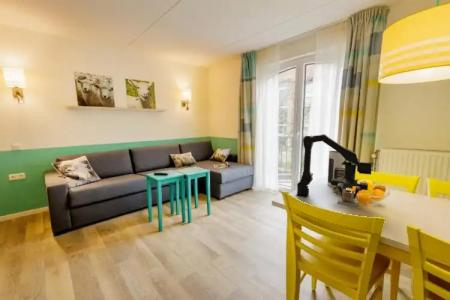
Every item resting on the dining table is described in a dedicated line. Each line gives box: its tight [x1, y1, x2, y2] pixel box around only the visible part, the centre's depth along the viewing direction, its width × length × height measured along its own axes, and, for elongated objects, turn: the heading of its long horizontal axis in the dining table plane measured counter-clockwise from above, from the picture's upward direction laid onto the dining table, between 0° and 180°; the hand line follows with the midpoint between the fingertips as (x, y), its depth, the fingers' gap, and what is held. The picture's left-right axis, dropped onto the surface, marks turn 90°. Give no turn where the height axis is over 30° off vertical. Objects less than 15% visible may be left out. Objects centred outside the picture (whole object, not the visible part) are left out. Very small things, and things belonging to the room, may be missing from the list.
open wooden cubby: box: [342, 189, 355, 202], centre depth 127 cm, size 6×6×6 cm
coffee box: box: [332, 167, 346, 194], centre depth 145 cm, size 9×6×16 cm
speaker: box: [327, 150, 345, 188], centre depth 158 cm, size 11×10×26 cm
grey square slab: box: [337, 196, 359, 208], centre depth 128 cm, size 10×10×5 cm
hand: (347, 197), depth 128 cm, fingers closed on open wooden cubby, 6 cm apart
